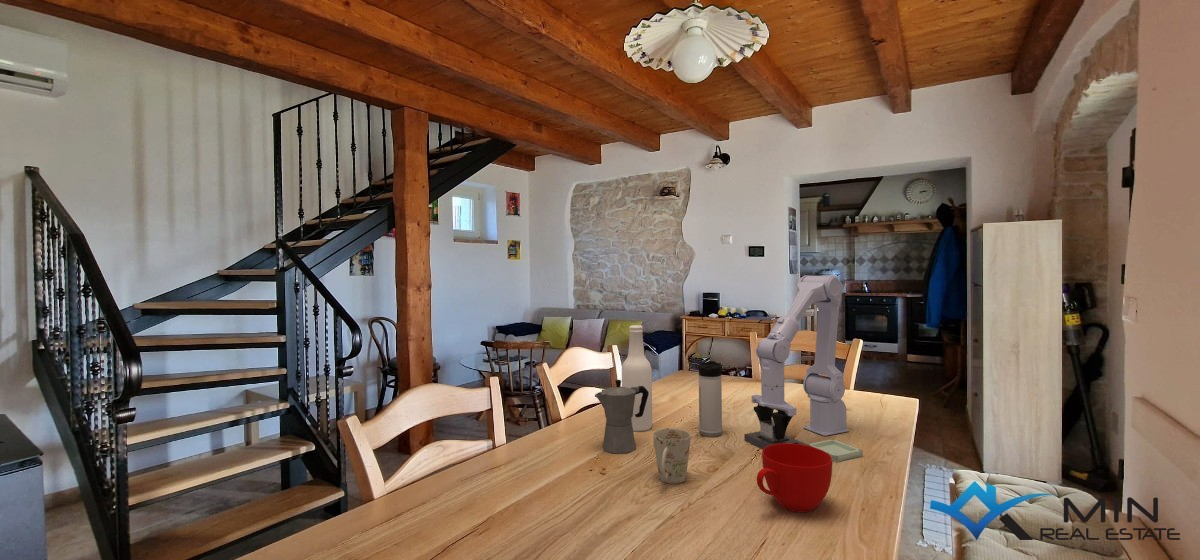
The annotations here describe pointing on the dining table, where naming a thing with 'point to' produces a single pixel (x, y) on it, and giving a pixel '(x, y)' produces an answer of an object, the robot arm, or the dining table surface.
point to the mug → (672, 454)
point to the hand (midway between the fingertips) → (773, 436)
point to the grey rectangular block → (769, 432)
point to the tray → (838, 450)
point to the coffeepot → (620, 416)
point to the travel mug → (710, 399)
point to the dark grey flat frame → (757, 441)
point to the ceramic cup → (796, 475)
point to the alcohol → (638, 378)
